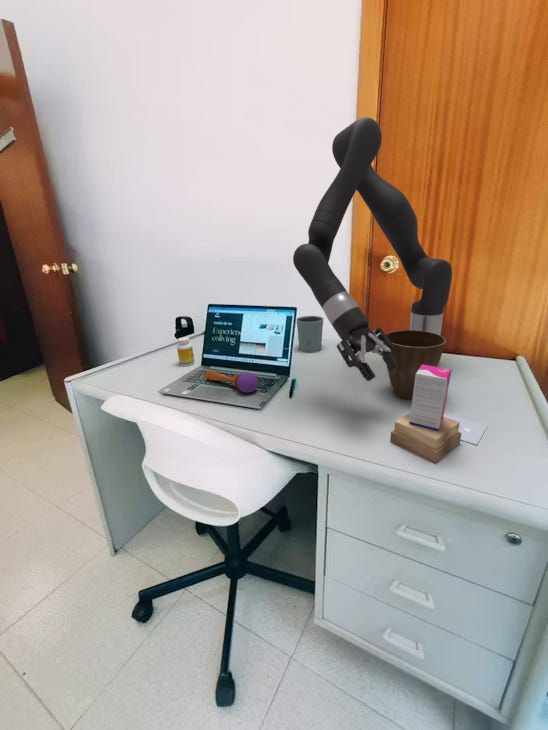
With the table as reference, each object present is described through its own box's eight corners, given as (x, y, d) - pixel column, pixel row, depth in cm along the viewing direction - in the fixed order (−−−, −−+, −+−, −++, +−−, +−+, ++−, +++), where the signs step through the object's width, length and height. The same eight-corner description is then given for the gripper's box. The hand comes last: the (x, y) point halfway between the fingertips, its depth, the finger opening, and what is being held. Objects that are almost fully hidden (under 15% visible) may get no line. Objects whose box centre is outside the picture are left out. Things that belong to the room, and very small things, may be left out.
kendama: (215, 364, 113) (261, 372, 100) (216, 382, 114) (262, 392, 102) (201, 367, 108) (247, 375, 96) (202, 385, 110) (247, 396, 97)
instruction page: (432, 411, 85) (432, 410, 85) (487, 426, 77) (487, 425, 77) (418, 427, 79) (418, 425, 79) (476, 445, 71) (477, 444, 71)
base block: (415, 424, 80) (417, 405, 78) (459, 443, 72) (463, 422, 71) (390, 441, 74) (391, 421, 72) (434, 463, 67) (437, 441, 65)
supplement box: (439, 431, 68) (447, 378, 64) (408, 424, 71) (413, 373, 67) (444, 418, 72) (452, 368, 68) (415, 412, 75) (420, 363, 71)
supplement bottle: (180, 362, 128) (175, 337, 125) (194, 360, 129) (191, 335, 126) (179, 367, 123) (175, 341, 120) (194, 365, 124) (191, 339, 121)
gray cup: (296, 353, 130) (294, 322, 126) (298, 344, 139) (297, 315, 135) (323, 353, 128) (322, 321, 124) (323, 344, 138) (323, 315, 133)
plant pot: (396, 378, 104) (400, 326, 98) (447, 391, 94) (455, 335, 88) (369, 395, 95) (372, 339, 89) (423, 412, 85) (430, 351, 79)
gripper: (333, 311, 74) (374, 375, 70) (373, 300, 82) (413, 357, 78) (315, 331, 80) (353, 390, 76) (355, 319, 88) (391, 372, 84)
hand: (383, 373), depth 77 cm, fingers open, 8 cm apart
